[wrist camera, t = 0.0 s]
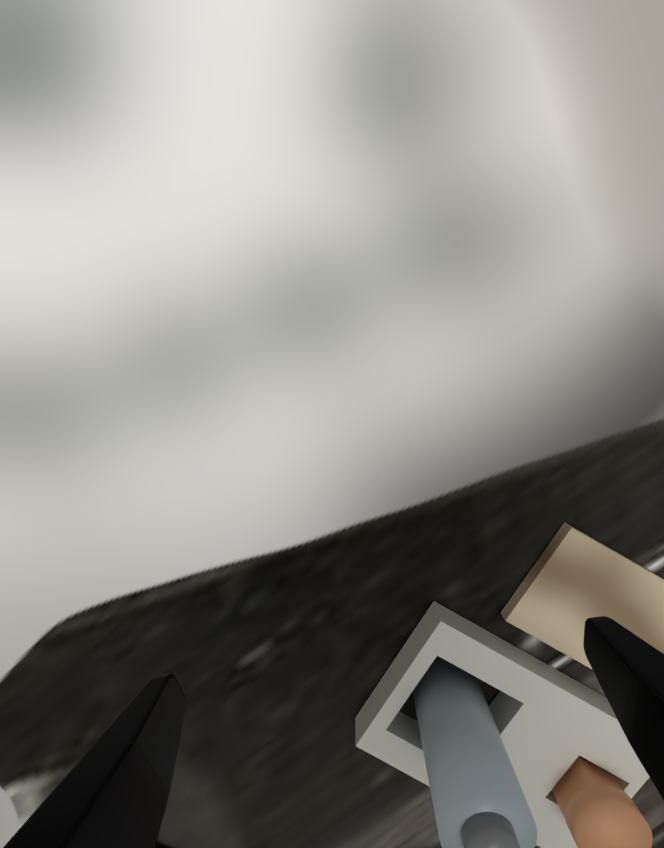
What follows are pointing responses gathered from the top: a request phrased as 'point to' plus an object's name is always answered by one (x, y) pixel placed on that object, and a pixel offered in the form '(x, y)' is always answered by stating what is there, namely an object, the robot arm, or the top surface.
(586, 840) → the plunger
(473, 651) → the white tray
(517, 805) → the cylinder
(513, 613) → the pad
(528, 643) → the top surface
